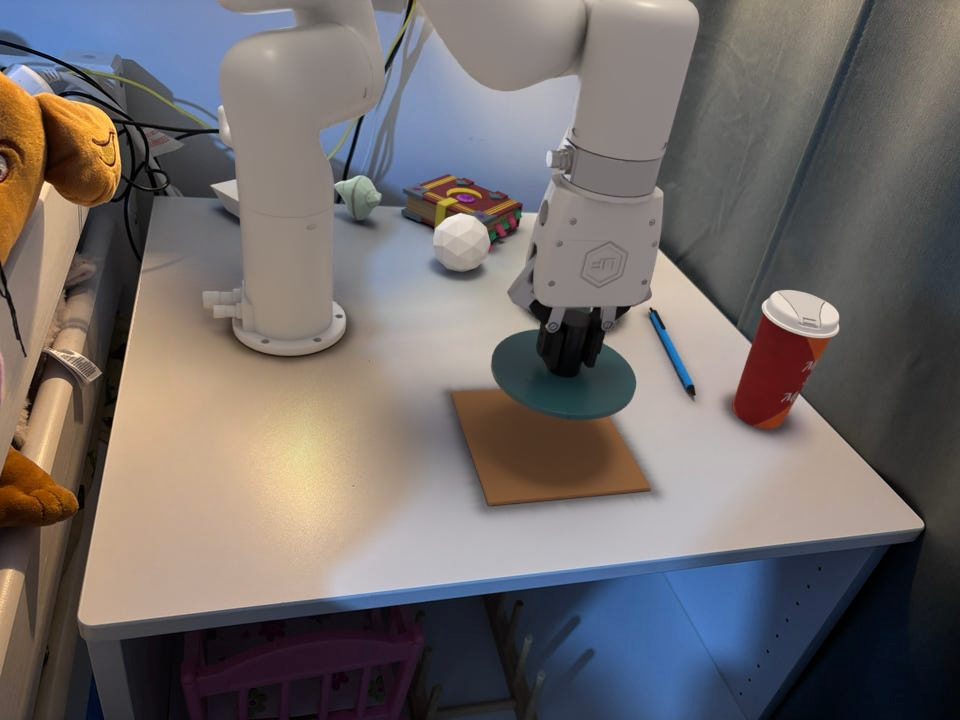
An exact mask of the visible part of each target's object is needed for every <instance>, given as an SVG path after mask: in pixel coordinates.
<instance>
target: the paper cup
mask: <svg viewBox="0 0 960 720" xmlns="http://www.w3.org/2000/svg"><path fill="white" fill-rule="evenodd" d="M761 311H762V313H761V317H760V320H759V323H758V325H757V329H756V331H755V334H754V337H753V340H752V343H751V346H750V349H749V352H748V355H747V358H746V361H745V364H744V366H743V370H742V373H741V376H740V379H739V382H738V385H737V388H736V391H735V394H734V397H733V401H732V410H733V412H734V414H735V415H736V416H737V417H738V418H739V419H740V420H741V421H743V422H744V423H746V424H748V425H750V426H752V427H755V428H760V429H765V430H773V429H776V428H779V427H780V426H781V425H782V423H783V422H784V421H785V419H786V417H787V416H788V414H789V412H790V411H791V409H792V407H793V406H794V404H795V402H796V400H797V398H798V397H799V395H800V394H801V391H802V390H803V388H804V386H805V385H806V383H807V382H808V380H809V378H810V377H811V374H812V372H813V370H814V369H815V367H816V366H817V364H818V362H819V361H820V358H821V356H822V354H824V351H825V350H826V347H827V346H828V344H829V343H830V341H831V339H832V337H835V336H836V335H837V334H838V333H839V332H840V324H839V321H840V313H839V312H838V310H837V309H836V308H835V307H834V306H833V305H832V304H831V303H829V302H827V301H826V300H824V299H822V298H820V297H818V296H815V295H814V294H811V293H808V292H803V291H800V290H795V289H794V290H793V289H783V290H776V291H774V292H773V293H771V294H770V296H769V298H767V299H766V300H764V301H763V302H762V304H761Z"/></svg>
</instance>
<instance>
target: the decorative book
mask: <svg viewBox="0 0 960 720" xmlns="http://www.w3.org/2000/svg"><path fill="white" fill-rule="evenodd" d="M402 194H404V195H406V196H407V197H406V207H405V208H402V209H401V210H400V211H401V212H400V214H401V215H403V216H405V217H407V218H409V219H411V220H412V219H413V220H414V221H417V222H420V223H421V222H423V223H424V224H427V225H429V226H431V227H433V228H434V229H433V230H434V231H435V229H436V228H437V227H438V226H439V225H440V224H441V223H442V222H443V221H444V220H445V219H446V218H449V217H451V216H454V215H457V214H459V213H462V214H466V215H470V216H474V217H476V218H477V219H478V220H479V221H480V222H481V223H482V224H483V225H484V226H485V227H486V228H487V232H488V235H489V239H490V247H489V251H488V252H490V251H492V250H494V247H493V245H492V244H491V243H492V242H494V241H495V239H497V238H500V237H502V238H503V237H505V236H506V235H508V233H509V232H511V231H513V230H515V229H517V228H519V227H520V223H521V218H523V214H522V211H523V207H524V204H523V203H522V202H520V201H517V200H514V199H512V198H510V197H509V195H508V194H506V193H504V192H501V191H499V190H498V191H492V190H490V189H487V188H485V187H482V186H479V185H477V184H475V181H473V180H472V179H468V178H466V177H461V178H459V177H457V176H454V175H452V174H449V173H447V174H444V175H442V176H439V177H436V178H432V179H430V180H428V181H424V182H422V183H420V182H418V183H415V184H412V185H409V186H406V187H403V188H402Z"/></svg>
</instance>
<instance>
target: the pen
mask: <svg viewBox="0 0 960 720" xmlns="http://www.w3.org/2000/svg"><path fill="white" fill-rule="evenodd" d="M649 316H650V318H651V319H652V321H653V324H654V326H655V328H656V330H657V332H658V334H659V336H660V337H661V340H662V343H663V344H664V346H665V349H666V350H667V352H668V354H669V356H670V358H671V360H672V362H673V364H674V367H675V368H676V370H677V372H678V374H679V376H680V378H681V380H682V382H683V385H684V386H685V388H686V390H687V391H688V392H689V393H690V394H691V395H692V396H693V397H694V398H696V397H697V393H696V388H695V385H694V383H693V381H692V378H691V377H690V375H689V373H688V370H687V369H686V367H685V365H684V363H683V361H682V360H681V359H682V358H681V357H680V355H679V353H678V351H677V350H676V347H675V346H674V343H673V341H672V340H671V338H670V336H669V334H668V332H667V330H666V329H667V328H666V326H665V324H664V322H663V321H662V319H661V317H660V314H659V313H658V311H657V310H656V309H654V308H653V307H652V306H651V307H649Z"/></svg>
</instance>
